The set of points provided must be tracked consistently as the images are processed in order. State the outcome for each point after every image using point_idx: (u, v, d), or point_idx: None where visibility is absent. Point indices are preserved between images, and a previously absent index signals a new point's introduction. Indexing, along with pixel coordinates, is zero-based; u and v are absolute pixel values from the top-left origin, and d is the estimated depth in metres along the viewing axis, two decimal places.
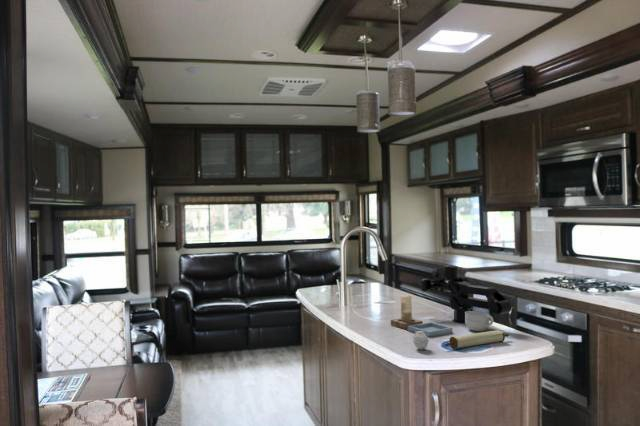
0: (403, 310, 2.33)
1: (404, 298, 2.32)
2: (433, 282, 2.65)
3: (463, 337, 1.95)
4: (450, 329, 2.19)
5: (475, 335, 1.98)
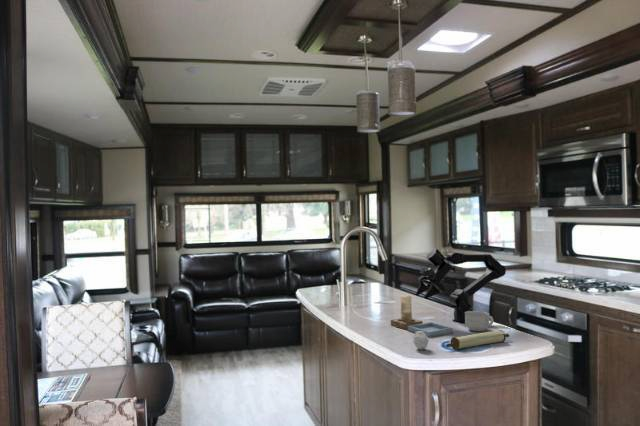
0: (403, 310, 2.33)
1: (404, 298, 2.32)
2: (418, 293, 2.41)
3: (464, 338, 1.94)
4: (450, 329, 2.19)
5: (476, 335, 1.97)
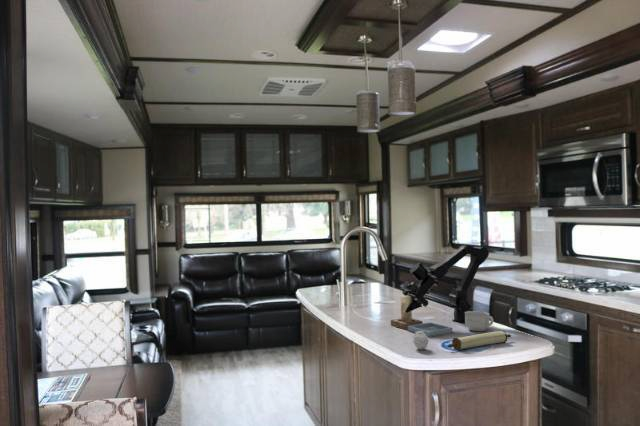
0: (403, 310, 2.33)
1: (404, 298, 2.32)
2: None
3: (466, 338, 1.93)
4: (450, 329, 2.19)
5: (478, 336, 1.96)
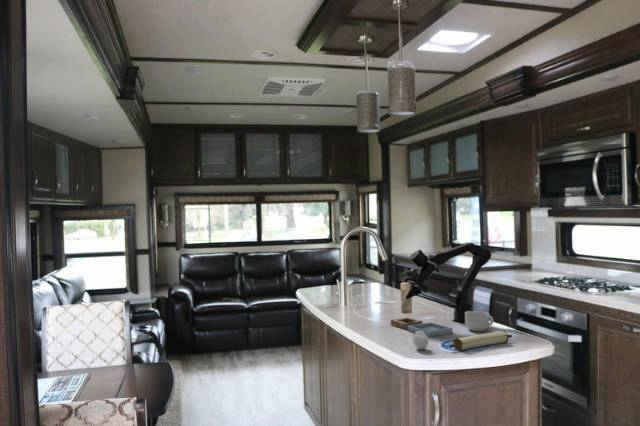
0: (403, 297, 2.32)
1: (404, 285, 2.32)
2: None
3: (467, 339, 1.92)
4: (450, 329, 2.19)
5: (479, 336, 1.96)
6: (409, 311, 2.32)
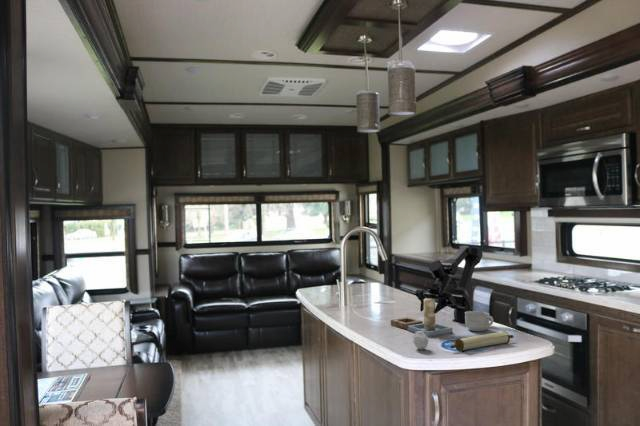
0: (429, 314, 2.20)
1: (430, 301, 2.20)
2: (422, 309, 2.24)
3: (469, 339, 1.92)
4: (450, 329, 2.19)
5: (481, 337, 1.95)
6: (434, 329, 2.21)
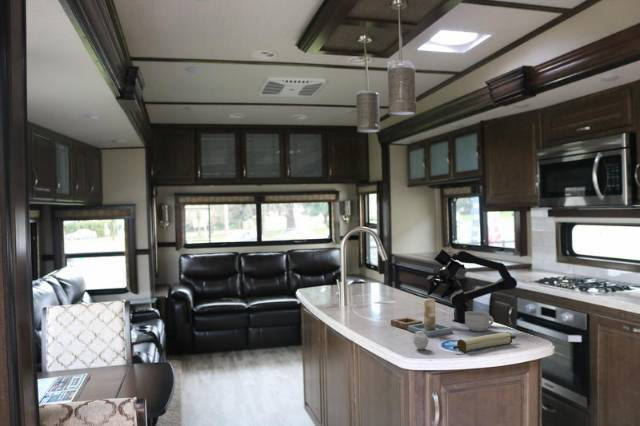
0: (429, 314, 2.20)
1: (430, 301, 2.20)
2: (430, 293, 2.40)
3: (471, 340, 1.90)
4: (450, 329, 2.19)
5: (483, 337, 1.94)
6: (434, 329, 2.21)
